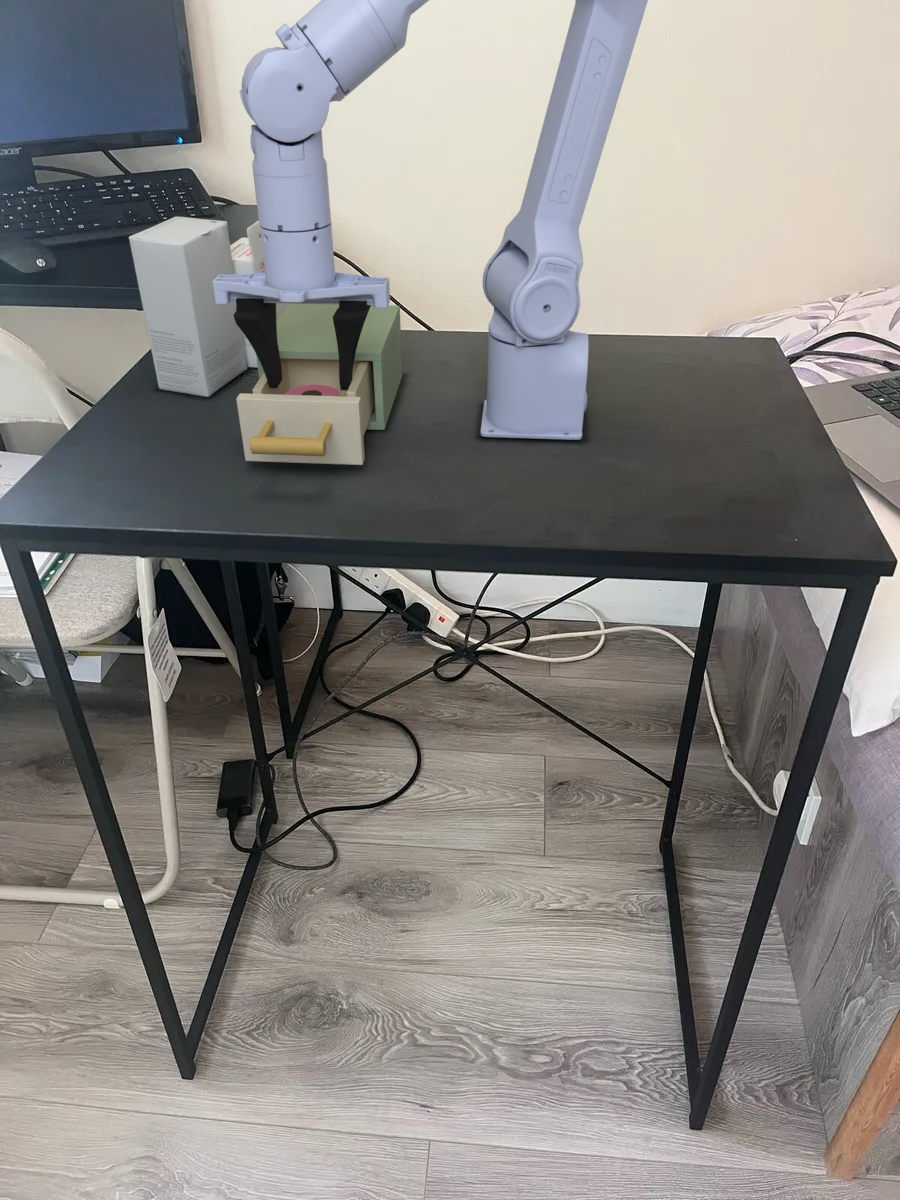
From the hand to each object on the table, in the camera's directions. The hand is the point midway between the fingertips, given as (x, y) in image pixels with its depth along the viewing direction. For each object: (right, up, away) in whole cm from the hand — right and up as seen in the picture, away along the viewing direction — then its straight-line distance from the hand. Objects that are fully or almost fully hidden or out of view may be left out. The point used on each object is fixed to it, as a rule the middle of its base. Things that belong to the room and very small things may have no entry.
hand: (311, 385), depth 80 cm
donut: (0, -3, +2) cm, 4 cm away
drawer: (0, -5, +2) cm, 5 cm away
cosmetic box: (-14, +4, +16) cm, 22 cm away
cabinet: (+1, +1, +12) cm, 12 cm away
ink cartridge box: (-9, +9, +22) cm, 26 cm away
